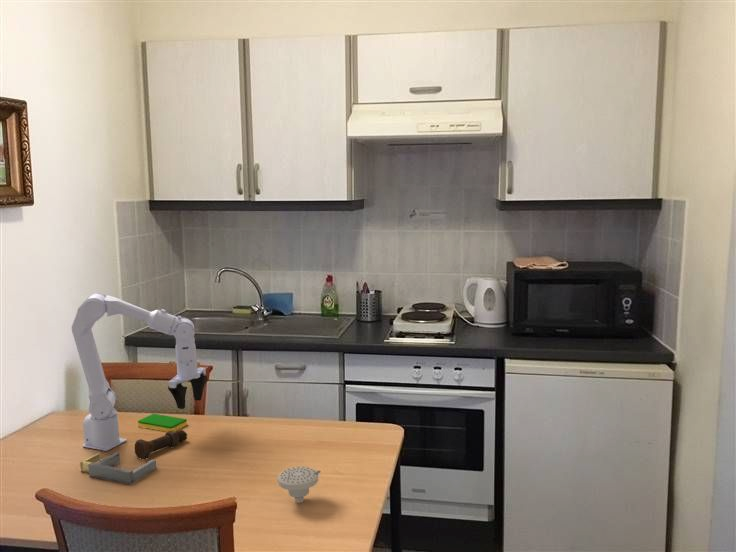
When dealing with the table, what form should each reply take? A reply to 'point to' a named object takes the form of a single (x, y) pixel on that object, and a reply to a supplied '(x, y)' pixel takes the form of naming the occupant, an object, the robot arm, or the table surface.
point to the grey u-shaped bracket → (119, 470)
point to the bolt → (159, 443)
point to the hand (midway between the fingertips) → (189, 404)
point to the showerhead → (298, 481)
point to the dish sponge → (162, 422)
